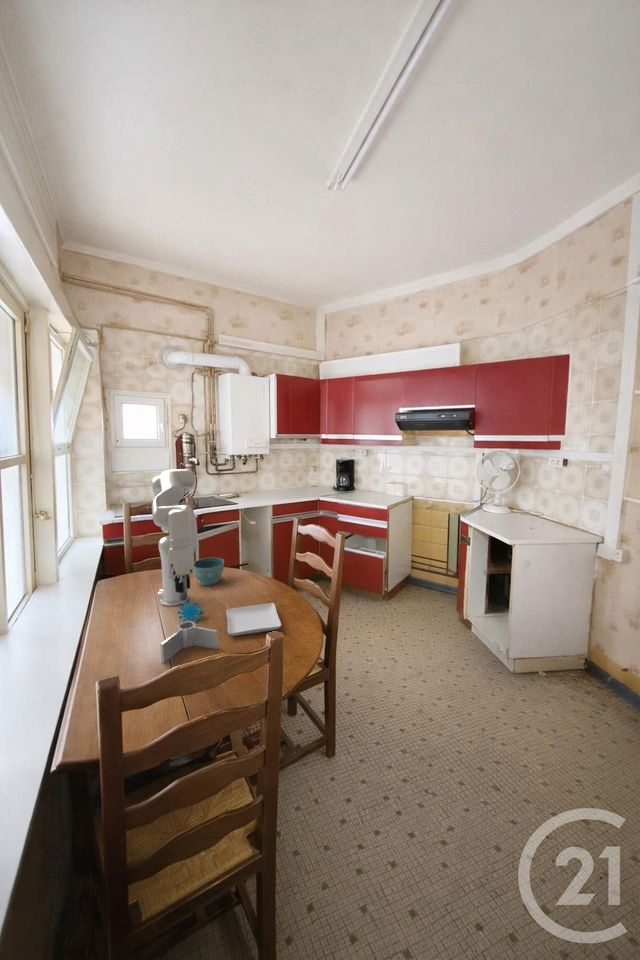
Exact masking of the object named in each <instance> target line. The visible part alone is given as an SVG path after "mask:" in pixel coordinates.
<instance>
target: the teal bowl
mask: <svg viewBox="0 0 640 960" xmlns="http://www.w3.org/2000/svg"><path fill="white" fill-rule="evenodd" d="M224 564H225V560H224V559H223V558H220V557H206V558H205V557H204V558H201V559H197V560H194V566H195V567H194V569H193V570H192V571H193V573H194V576H195V578H196V580H198V581H199V583H200V585H202V586H212V585H215V584H217V583H218V582H219V580H220V578H221V577H222V574H223V572H224V566H225V565H224Z"/></svg>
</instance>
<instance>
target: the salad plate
mask: <svg viewBox="0 0 640 960" xmlns="http://www.w3.org/2000/svg"><path fill="white" fill-rule="evenodd" d="M225 613H226V620H227V634H228V635H230V636H242V635H247V634H248V635H249V634H257V633H262V632H263V633H264V632H269V631H275V630H278V629H280V628H281V627H282V622H281V620H280V617H279V614H278V612H277V608H276V604H275V603H274V602H269V603H263V604H254V605H253V604H252V605H247V606H241V607H233V608H227V609H226V612H225Z"/></svg>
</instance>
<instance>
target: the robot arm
mask: <svg viewBox="0 0 640 960" xmlns="http://www.w3.org/2000/svg"><path fill="white" fill-rule="evenodd" d="M195 486H196V476H195V473H194V472H193V470H192V469H190V468H189V469H188V468H183V469H182V468H180V469H178V468H177V469H167V470H164V471H162V472H161V474H160V475H157V476H155V477H153V478H152V480H151V487H152V491H153V494H154V495H155V497H154V498H153V501H152V503H151V514H152V521H153V523H154V525H156V527H160V529H161V531H162V532H163V533H165V534H166V533H168V534H169V535H166V536H164V537H162V538H160V539H159V541H158V550H159V556H160V560H161V561H160V562H161V575H162V576H161V577H162V579H161V580H162V588H159V590H158V592H157V596H161V598H160V600H159V603H160V605H162V606H166V607H174V606H180V605H182V604H183V602H187V601H189V598H188V599H187V600H185V601H180V600H179V592H180V593H183V592H184V586H183V582H182V574H183V573H184V572H186V571H188V570H189V574H187V590H189V589H191V579H190V578H191V577H192V572H193V571H194V570H193V569H194V567H195V566H194V562H195V554H194V553H196V552H197V551H198V550H199V535H198V534H199V533H198V524H197V523H198V522H197V517H196V515H195V512H194V511H193V509H192V507H191V506H190V505H188V504H179V502H180V501H181V500H182V499H183V498H184V495H185V493H190V492H192V490H193V489H194V487H195ZM178 576H179V578H178Z"/></svg>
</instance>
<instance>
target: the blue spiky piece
mask: <svg viewBox="0 0 640 960" xmlns="http://www.w3.org/2000/svg"><path fill="white" fill-rule="evenodd" d="M192 603H193V604H192ZM182 604H183V605H182ZM182 604H180V605H179V607H178V608H179V610H178V611H177V615H179V616H178V620H182V622H185V621H193V622H195V623H197V622H198V619H200V618H201V617H202V615H203V613H204V612H205V611H206V609H205V608H202V605H201V604H198V601H196V600H195V601H194V602H193V600H189V599H188V605H187V601H186V602H183V603H182ZM197 604H198V605H197ZM183 607H184V608H183ZM201 608H202V609H201ZM181 610H182V611H181ZM196 616H197V618H196ZM184 618H185V619H184ZM192 619H193V620H192ZM182 622H181V623H182Z"/></svg>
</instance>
